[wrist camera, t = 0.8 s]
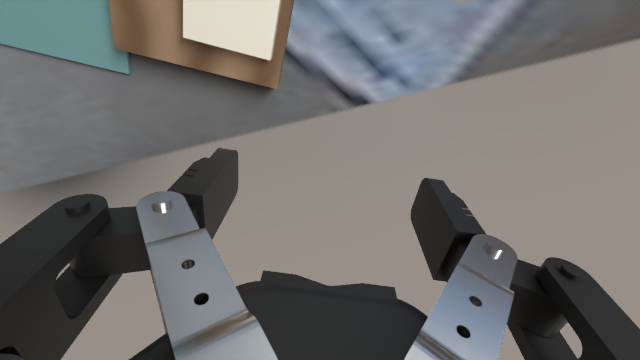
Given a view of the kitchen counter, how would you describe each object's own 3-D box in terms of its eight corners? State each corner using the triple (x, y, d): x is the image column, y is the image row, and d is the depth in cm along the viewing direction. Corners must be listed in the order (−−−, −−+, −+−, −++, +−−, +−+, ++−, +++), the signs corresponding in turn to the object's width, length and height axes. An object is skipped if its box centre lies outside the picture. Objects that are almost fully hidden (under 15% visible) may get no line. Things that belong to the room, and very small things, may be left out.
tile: (189, 35, 27) (183, 37, 26) (190, -72, 23) (183, -75, 22) (272, 57, 29) (270, 60, 27) (287, -40, 25) (286, -42, 23)
